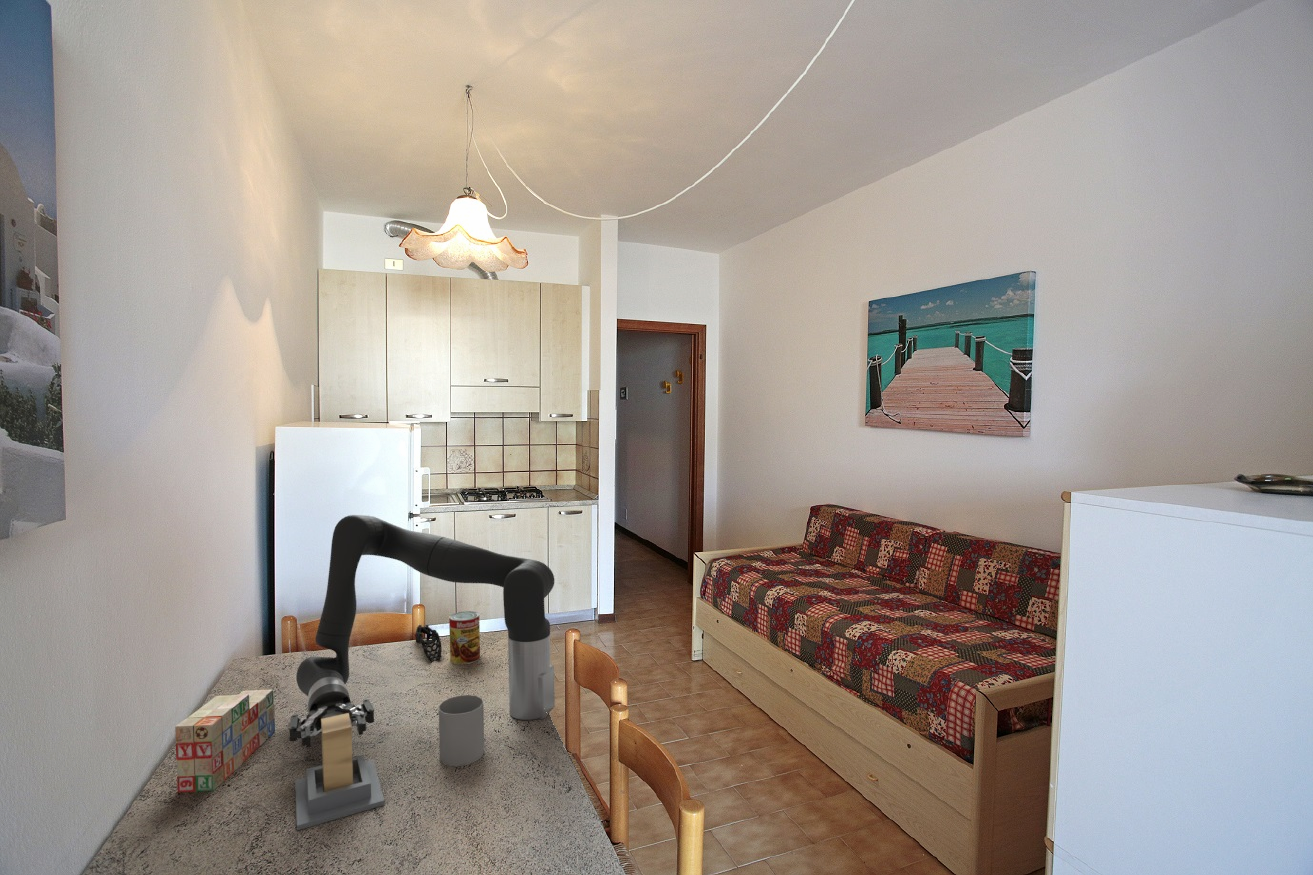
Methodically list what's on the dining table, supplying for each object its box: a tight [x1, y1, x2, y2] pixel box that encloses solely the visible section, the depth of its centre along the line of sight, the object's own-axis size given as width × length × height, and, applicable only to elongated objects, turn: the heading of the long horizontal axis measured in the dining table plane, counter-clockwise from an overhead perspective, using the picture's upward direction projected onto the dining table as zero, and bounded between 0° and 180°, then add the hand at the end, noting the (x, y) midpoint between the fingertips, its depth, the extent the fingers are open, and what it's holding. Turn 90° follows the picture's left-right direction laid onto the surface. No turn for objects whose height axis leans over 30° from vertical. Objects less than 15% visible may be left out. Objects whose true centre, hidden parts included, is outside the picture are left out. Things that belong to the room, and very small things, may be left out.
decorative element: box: [414, 624, 443, 663], centre depth 182 cm, size 22×5×6 cm, turn 30°
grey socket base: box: [294, 754, 385, 831], centre depth 112 cm, size 15×13×3 cm
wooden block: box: [321, 713, 353, 792], centre depth 112 cm, size 6×4×12 cm
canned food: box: [448, 610, 481, 665], centre depth 174 cm, size 8×8×12 cm
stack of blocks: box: [174, 689, 276, 793], centre depth 124 cm, size 21×6×12 cm, turn 4°
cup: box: [438, 694, 485, 767], centre depth 125 cm, size 8×8×10 cm
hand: (335, 735), depth 116 cm, fingers open, 8 cm apart
